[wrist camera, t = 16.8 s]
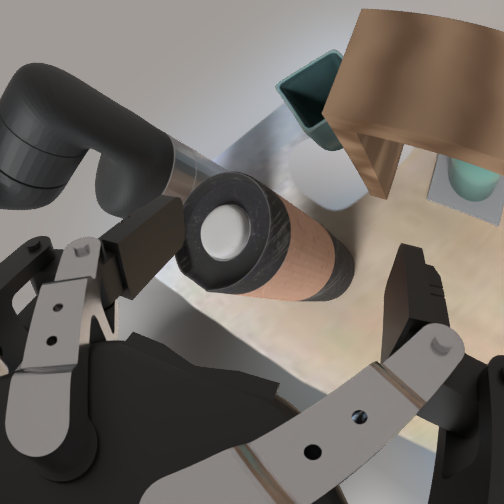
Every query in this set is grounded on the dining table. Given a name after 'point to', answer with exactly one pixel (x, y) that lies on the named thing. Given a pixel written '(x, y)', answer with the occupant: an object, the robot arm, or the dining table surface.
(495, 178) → the teal glossy cylinder
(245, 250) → the travel mug
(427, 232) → the dining table surface
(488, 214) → the mat
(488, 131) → the brown wooden shelf stand
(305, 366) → the dining table surface
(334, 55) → the flower pot
